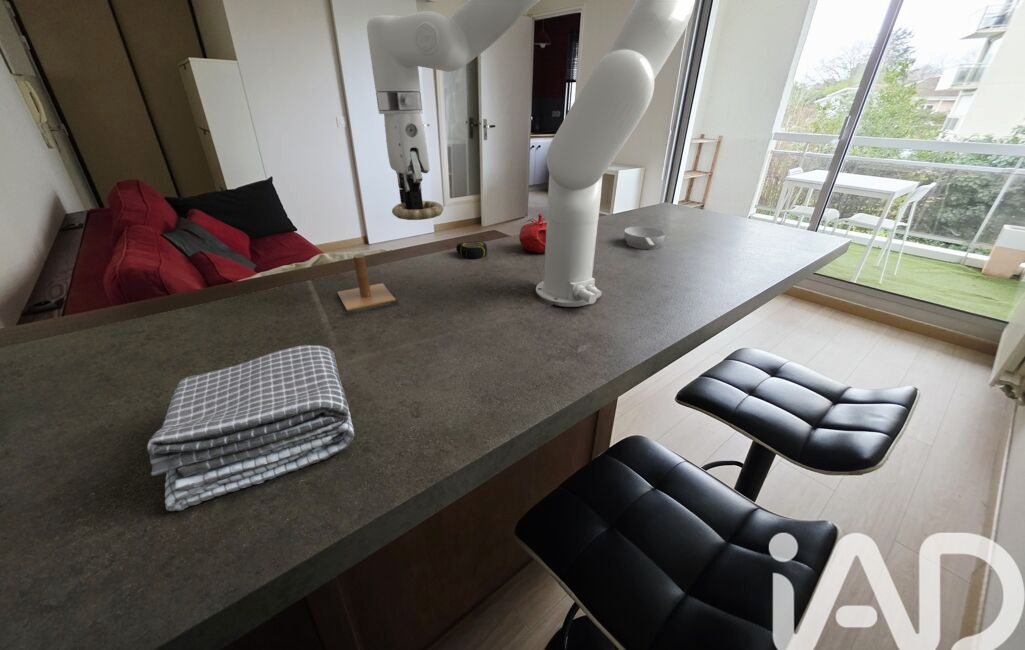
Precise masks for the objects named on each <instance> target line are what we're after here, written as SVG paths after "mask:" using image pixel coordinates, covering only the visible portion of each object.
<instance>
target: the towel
mask: <svg viewBox="0 0 1025 650" xmlns="http://www.w3.org/2000/svg"><path fill="white" fill-rule="evenodd" d="M335 354H336V353H335V352H334V351H333V350H332V349H331V348H329V347H327V346H325V345H317V344H316V345H315V344H314V345H313V344H310V345H306V344H303V345H297V346H292V347H290V348H284V349H281V350H277V351H274V352H271V353H267V354H264V355H261V356H259V357H256V358H252V359H251V360H248V361H244V362H242V363H239V364H235V365H231V366H228V367H223V368H221V369H217V370H211V371H209V372H204V373H203V372H202V373H200V374H193V375H190V376H187V377H184V378H182V379H180V380H179V381H178V382H177V386H175V389H174V391H173V395H172V397H171V399H170V401H169V405H168V407H167V410H166V414H165V416H164V420H163V422H162V426H161V427H160V428H159V429H157V430H156V432H154V434H153V435H152V436H151V437H150V438H149V439H148V443H147V445H146V450H147V452H148V454H149V463H150V464H151V472H150V475H151V476H153V477H158V476H162V475H164V474H166V475H165V483H164V490H165V491H164V498H165V500H164V504H165V505H164V506H165V509H166V511H169V512H175V511H176V512H180V511H183V510H185V509H187V508H189V507H191V506H196V505H199V504H201V503H202V502H204V501H208V500H211V499H214V498H216V497H221V496H222V495H223V496H224V495H226V494H228V493H232V492H233V493H234V492H236V491H240V490H241V489H245V488H248V487H251V486H253V485H259V484H262V483H264V482H265V481H268V480H272V479H275V478H278V477H280V476H284V475H285V474H286V475H287V474H288V473H291V472H296V471H298V470H299V469H303V468H306V467H308V466H310V465H312V464H315V463H319V462H321V461H323V460H324V461H325V460H327V459H329V458H331V456H334V455H335V454H338V453H340V452H342V451H344V450H345V449H347V448H348V447H349V446H350V444H351V443H352V441H354V438H355V432H354V431H355V430H354V429H355V428H354V425H353V423H352V421H353V420H352V418H351V417H352V416H351V412H350V409H349V404H348V400H347V397H346V391H345V389H344V386H343V385H342V381H341V379H340V373H339V372H340V371H339V368H338V364H337V360H336V356H335Z"/></svg>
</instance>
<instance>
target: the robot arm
mask: <svg viewBox="0 0 1025 650" xmlns="http://www.w3.org/2000/svg"><path fill="white" fill-rule="evenodd" d="M539 2H541V0H466V1H465V2H464V3H463V4H462V5H461V6H460V7H458V8H457V9H456V10H455V11H454V12H452V13H451V14H450V15H449V16H445V15H443V14H442V13H439V12H437V11H434V10H424V11H418V12H414V13H411V14H407V15H406V14H405V15H401V16H398V15H387V14H386V15H384V14H383V15H375V16H372V17H370V18H369V19H368V21H367V24H366V32H367V33H366V34H367V40H368V48H369V54H370V61H371V68H372V74H373V82H374V90H375V96H376V104H377V110H378V115H383V117H384V118H383V121H384V131H385V141H386V149H387V157H388V163H389V166H390V168H391V170H393V171H395V174H396V177H397V184H398V185H397V186H398V190H399V199H400V204H401V203H404V202H405V204H406V209H408V210H420V209H423V203H422V201H423V194H422V182H423V174H428V173H429V172H430V161H429V153H428V146H427V139H426V134H425V133H426V132H425V128H424V122H423V118H422V115H421V114H424V112H423V104H422V103H423V102H422V93H421V83H420V73H419V72H420V71H419V68H427V69H432V70H437V71H442V72H447V73H450V72H451V73H452V72H456V71H459V70H461V69H462V68H463V67H465V66H466V65H467V64H469V63H471V62H472V61H473V60H474V59H476V58H477V57H478V56H480V55H481V54H482V53H484V52H485V51H486V50H487V49H489V48H490V47H491V46H492V45H494V44H495V43H496V42H497V41H498V40H499V39H500V38H501V37H502V36H503V35H504V34H505V33H507V31H508V30H509V29H510V28H512V27H513V26H514V25H515V24H516V23H517V22H518V21H519V20H520V19H521V18H522V16H524V15H525V13H527V12H528V11H529V10H530V9H532V8H533V7H534V6H535V5H537V4H538V3H539ZM695 3H696V0H635V1H634V4H632V5H633V6H632V7H631V9H630V11H629V13H628V15H627V16H626V18H625V20H624V21H623V23H622V26H621V28H620V29H619V31H618V33H617V35H616V37H615V38H614V40H613V42H612V43H611V45H610V47H609V48H608V50H607V51H606V53H605V55H604V56H603V57H602V58H601V59H599V61H598V62H597V63H596V64H595V65H594V67H593V69H592V70H591V72H590V74H589V75H588V77H587V79H586V80H585V82H584V83H583V86H582V88H581V89H580V91H579V93H578V95H577V96H576V98H575V100H574V102H573V103H572V105H571V107H570V108H569V110H568V112H567V114H566V116H565V117H564V119H563V121H562V123H561V124H560V126H559V127H558V129H557V131H556V133H555V134H554V136H553V138H552V140H551V141H550V143H549V146H548V149H547V152H546V165H547V170H548V173H549V176H548V191H547V194H548V195H547V211H546V213H547V214H546V222H547V225H546V246H545V253H544V268H543V269H544V270H543V272H544V273H543V280H542V281H540V282H538V284H537V285H536V287H535V292H536V294H537V295H538V296H539V297H541V298H542V299H544V300H545V301H548V302H551V303H552V302H553V303H554V304H553V306H558V307H565V308H573V307H574V308H576V307H584V306H588V305H593V304H595V303H596V301H597V300H598V299H599V298H601V297H602V294H603V292H602V290H600V289H598V287H596V286H595V285H596V278H594V277H593V273H594V271H593V270H594V262H595V252H596V244H597V234H598V223H599V217H600V208H601V198H602V189H603V188H602V187H603V176H604V174H605V173H607V171H608V169H609V168H610V166H611V165H612V163H613V162H614V160H615V159H616V157H617V156H618V155H619V153H620V151H621V150H622V149H623V147H624V146H625V144H626V143H627V141H628V139H629V138H630V137H631V136H632V133H633V132H634V131H635V129H636V128H637V126H638V125H639V123H640V121H641V120H642V118H643V117H644V115H645V113H646V112H647V110H648V108H649V106H650V105H651V104H650V103H651V102H652V99H653V96H654V91H655V80H656V78H657V76H658V75H659V73H660V72H661V70H662V68H663V67H664V65H665V64H666V62H667V60H668V59H669V57H670V55H671V53H672V52H673V50H674V48H675V47H676V45H677V43H678V42H679V40H680V39H681V38H682V35H683V33H684V31H686V28H687V26H688V24H689V22H690V19H691V17H692V14H693V11H694V8H695ZM422 173H423V174H422Z"/></svg>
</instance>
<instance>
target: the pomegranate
mask: <svg viewBox="0 0 1025 650" xmlns="http://www.w3.org/2000/svg"><path fill="white" fill-rule="evenodd" d="M543 215H544V214H542V213H539V214H538V215H537V216H538V220H537V219H534V218H532V219H528V220H526V221H525V223H526V224H524V225H522V226H521V228H520V231H519V235H518V239H519V243H520V245H521V247H522V248H523V249H524V250H526V251H527V252H530V253H535V254H545V246H546V225H547V218H543ZM544 221H545V222H544ZM527 222H529V223H527Z"/></svg>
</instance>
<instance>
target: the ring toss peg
mask: <svg viewBox="0 0 1025 650" xmlns="http://www.w3.org/2000/svg"><path fill="white" fill-rule="evenodd" d="M352 258H353V263H354V269H355V273H356V274H355V275H356V279H357V286H358V287H356V288H351V289H345V290H340V291H337V295H338V298H339V300H340V301H341V303H342V304H343V306H344V308H345V310H346V312H349V311H353V310H358V309H362V308H367V307H372V306H376V305H382V304H387V303H390V302H396V298H395V297H394V295H393V294H392V293H391V292H390V290H389V289H388V288H387V287H386V286H385V284H384V283H383V282H382V283H376V284H371V285H370V280H369V273H368V268H367V261H366V256H365V254H363V253H362V254H361V253H358V254H354V255H353V256H352Z"/></svg>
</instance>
